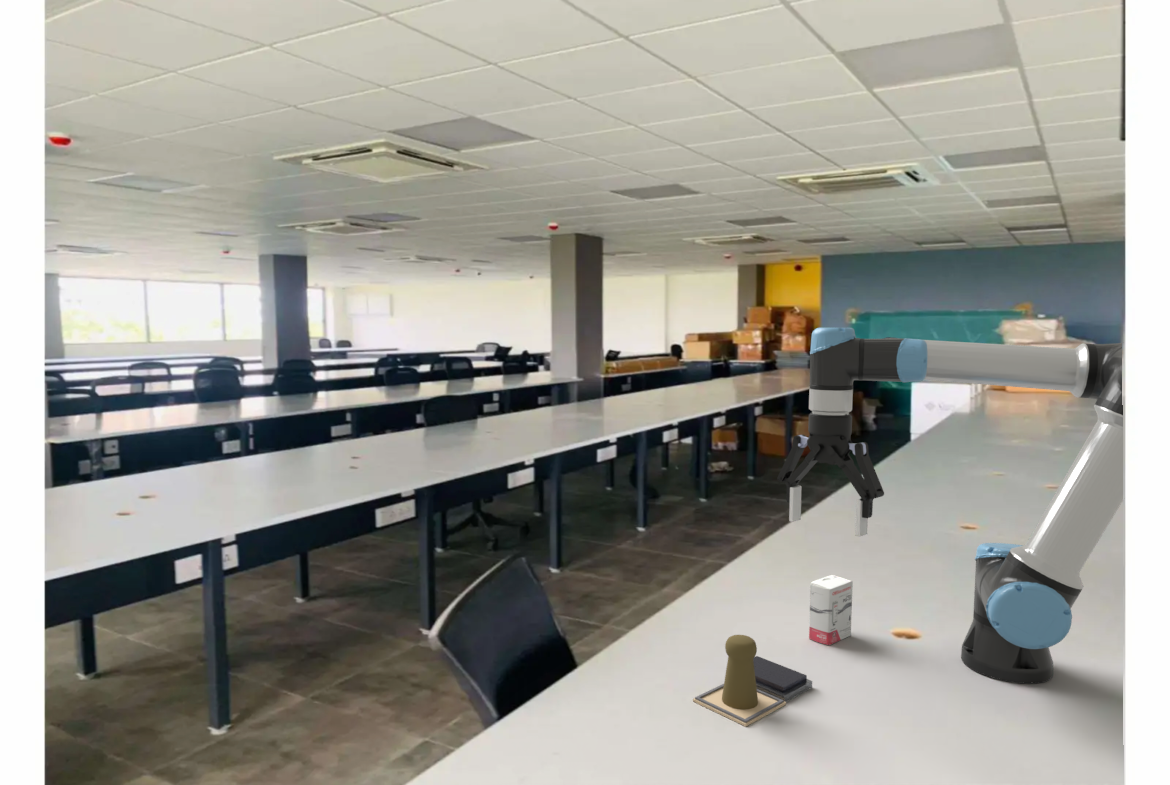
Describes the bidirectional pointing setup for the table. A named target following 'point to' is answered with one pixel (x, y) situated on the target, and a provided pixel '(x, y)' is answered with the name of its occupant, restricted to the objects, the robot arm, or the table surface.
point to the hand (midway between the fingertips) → (826, 527)
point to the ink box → (830, 609)
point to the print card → (743, 717)
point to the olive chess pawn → (740, 673)
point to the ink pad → (779, 679)
